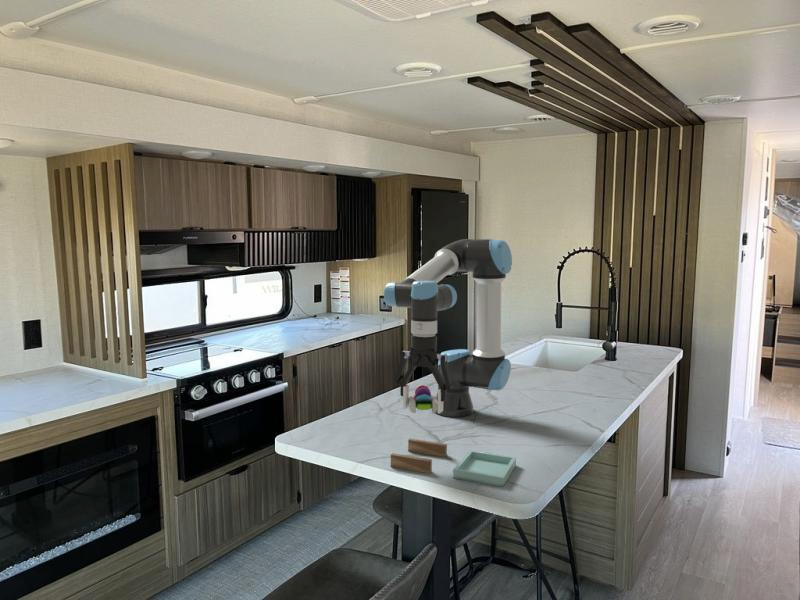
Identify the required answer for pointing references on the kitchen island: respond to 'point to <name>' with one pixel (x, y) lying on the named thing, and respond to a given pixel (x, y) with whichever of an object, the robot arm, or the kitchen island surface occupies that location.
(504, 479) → the tray
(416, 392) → the rainbow disc toy
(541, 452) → the kitchen island surface
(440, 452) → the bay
